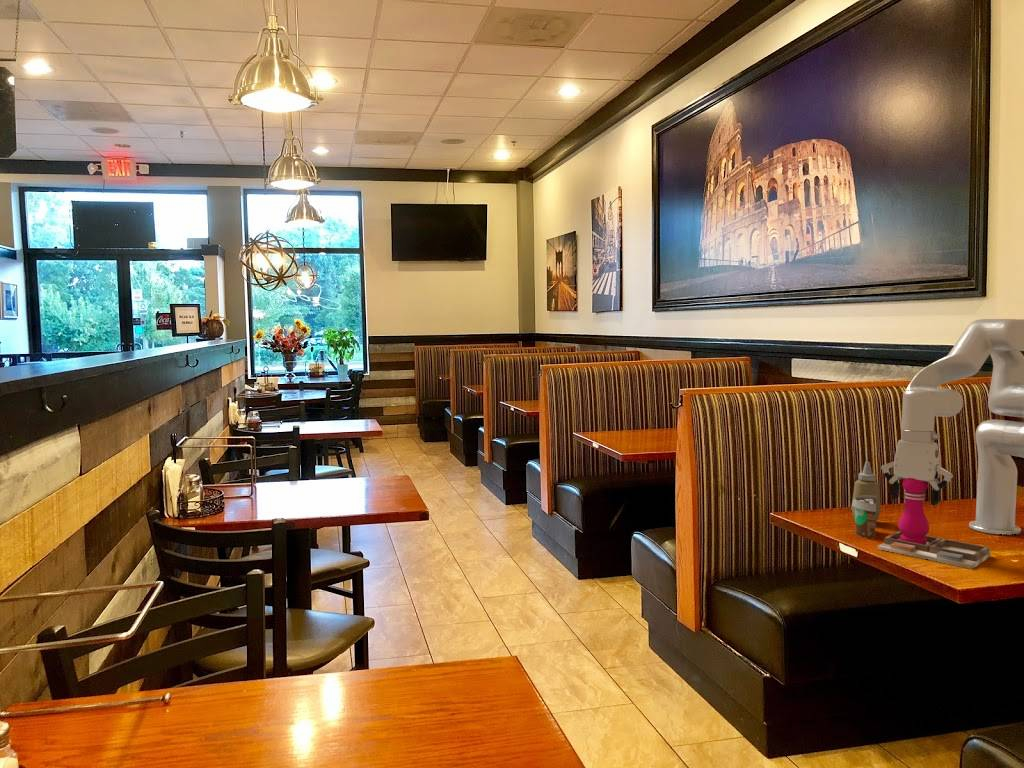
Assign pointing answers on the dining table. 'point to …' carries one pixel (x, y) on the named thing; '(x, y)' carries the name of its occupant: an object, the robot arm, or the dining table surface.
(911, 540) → the pepper mill
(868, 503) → the food container
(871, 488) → the squeeze bottle
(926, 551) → the holder board
